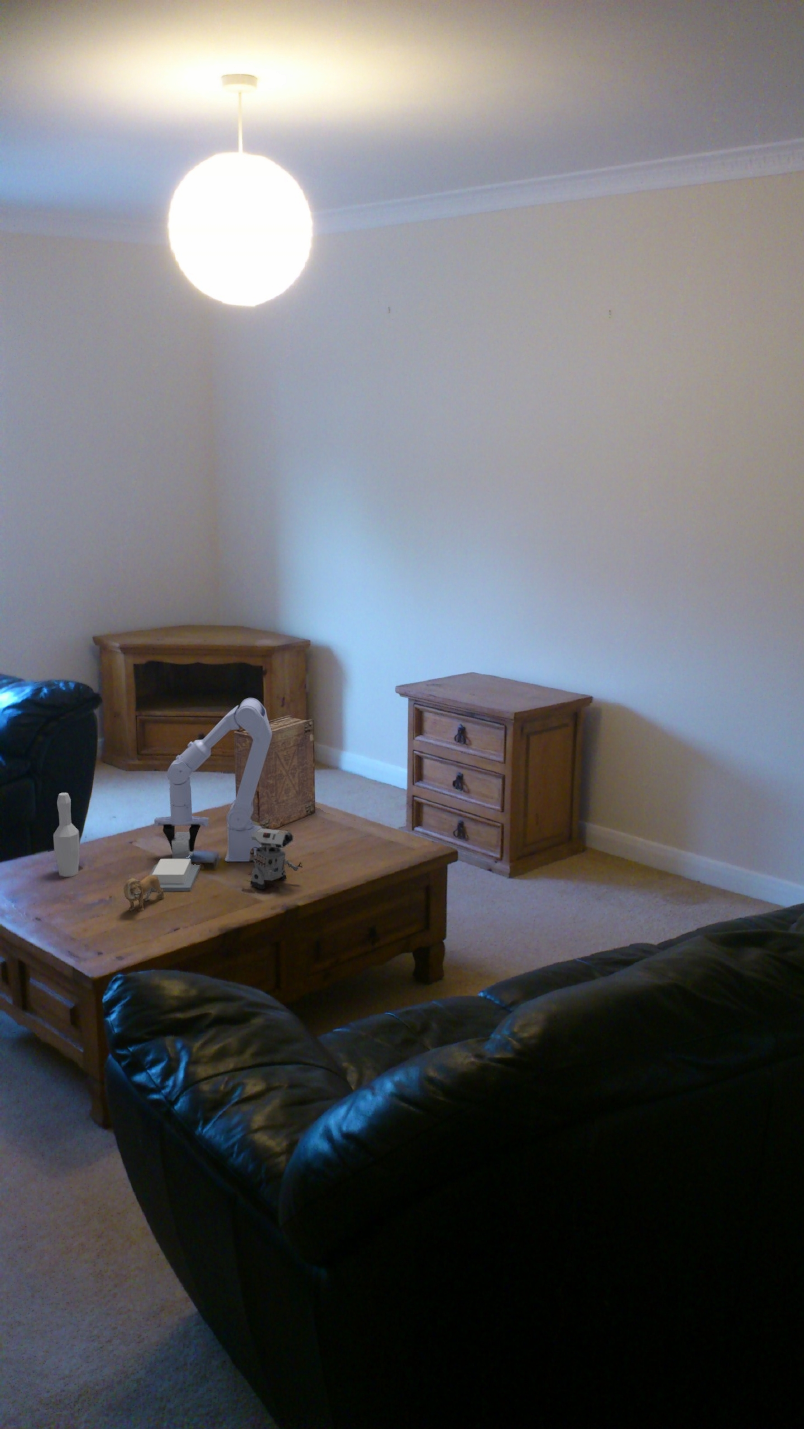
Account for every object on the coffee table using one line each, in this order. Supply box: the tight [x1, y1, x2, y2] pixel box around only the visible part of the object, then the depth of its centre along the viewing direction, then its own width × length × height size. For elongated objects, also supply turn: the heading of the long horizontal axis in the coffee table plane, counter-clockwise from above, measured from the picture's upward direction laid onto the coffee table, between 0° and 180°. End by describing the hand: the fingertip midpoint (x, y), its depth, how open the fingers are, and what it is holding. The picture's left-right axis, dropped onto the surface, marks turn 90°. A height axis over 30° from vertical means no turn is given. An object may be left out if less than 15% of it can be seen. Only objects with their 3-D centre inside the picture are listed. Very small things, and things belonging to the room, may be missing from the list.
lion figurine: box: [123, 874, 165, 912], centre depth 269 cm, size 15×5×9 cm, turn 163°
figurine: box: [248, 828, 303, 890], centre depth 281 cm, size 9×12×15 cm
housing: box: [171, 831, 194, 859], centre depth 301 cm, size 4×7×6 cm, turn 1°
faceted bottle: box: [52, 792, 81, 878], centre depth 287 cm, size 6×6×22 cm
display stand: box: [148, 858, 201, 892], centre depth 285 cm, size 12×16×4 cm
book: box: [233, 714, 316, 830], centre depth 327 cm, size 25×9×30 cm, turn 145°
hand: (182, 850), depth 301 cm, fingers closed on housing, 4 cm apart
